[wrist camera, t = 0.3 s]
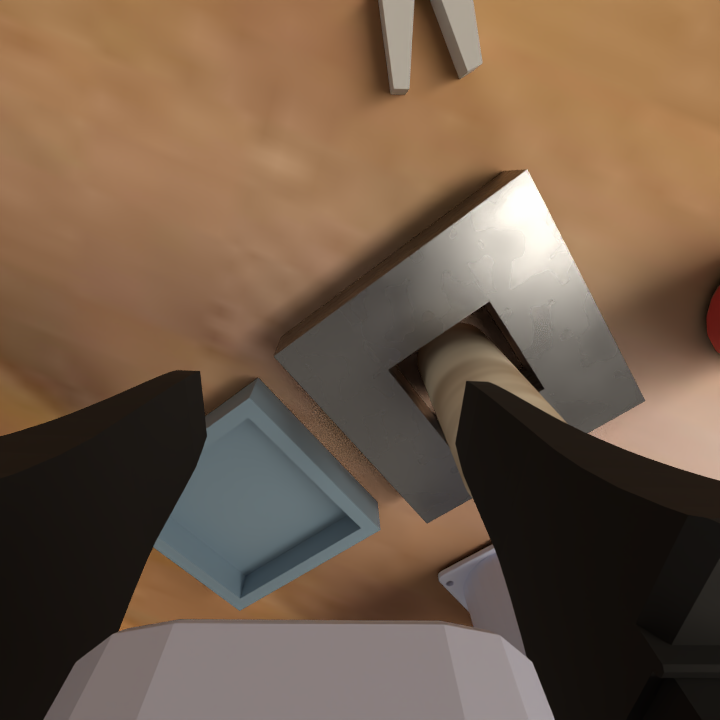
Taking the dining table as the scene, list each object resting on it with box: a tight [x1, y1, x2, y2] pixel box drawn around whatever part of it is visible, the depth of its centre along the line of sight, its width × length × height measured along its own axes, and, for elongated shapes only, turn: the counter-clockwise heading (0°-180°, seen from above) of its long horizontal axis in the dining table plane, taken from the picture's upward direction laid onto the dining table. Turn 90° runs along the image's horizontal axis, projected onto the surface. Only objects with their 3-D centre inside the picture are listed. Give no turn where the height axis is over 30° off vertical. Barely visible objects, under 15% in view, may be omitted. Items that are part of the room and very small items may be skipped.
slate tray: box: [153, 378, 380, 611], centre depth 24 cm, size 11×11×2 cm
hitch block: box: [274, 170, 645, 523], centre depth 21 cm, size 13×13×2 cm
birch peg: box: [417, 323, 566, 498], centre depth 18 cm, size 4×4×9 cm
